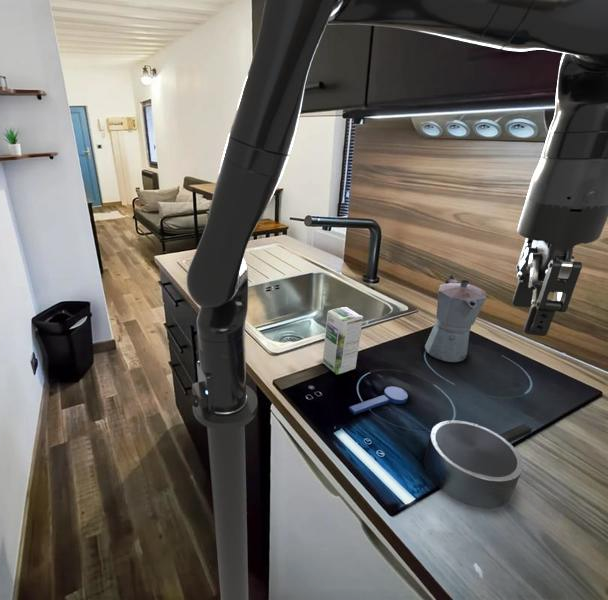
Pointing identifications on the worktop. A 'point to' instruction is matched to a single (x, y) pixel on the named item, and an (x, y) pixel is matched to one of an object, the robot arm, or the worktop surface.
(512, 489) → the saucepan
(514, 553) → the worktop surface
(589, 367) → the worktop surface
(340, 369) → the syrup box
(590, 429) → the worktop surface
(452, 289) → the moka pot
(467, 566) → the worktop surface
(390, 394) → the spoon
